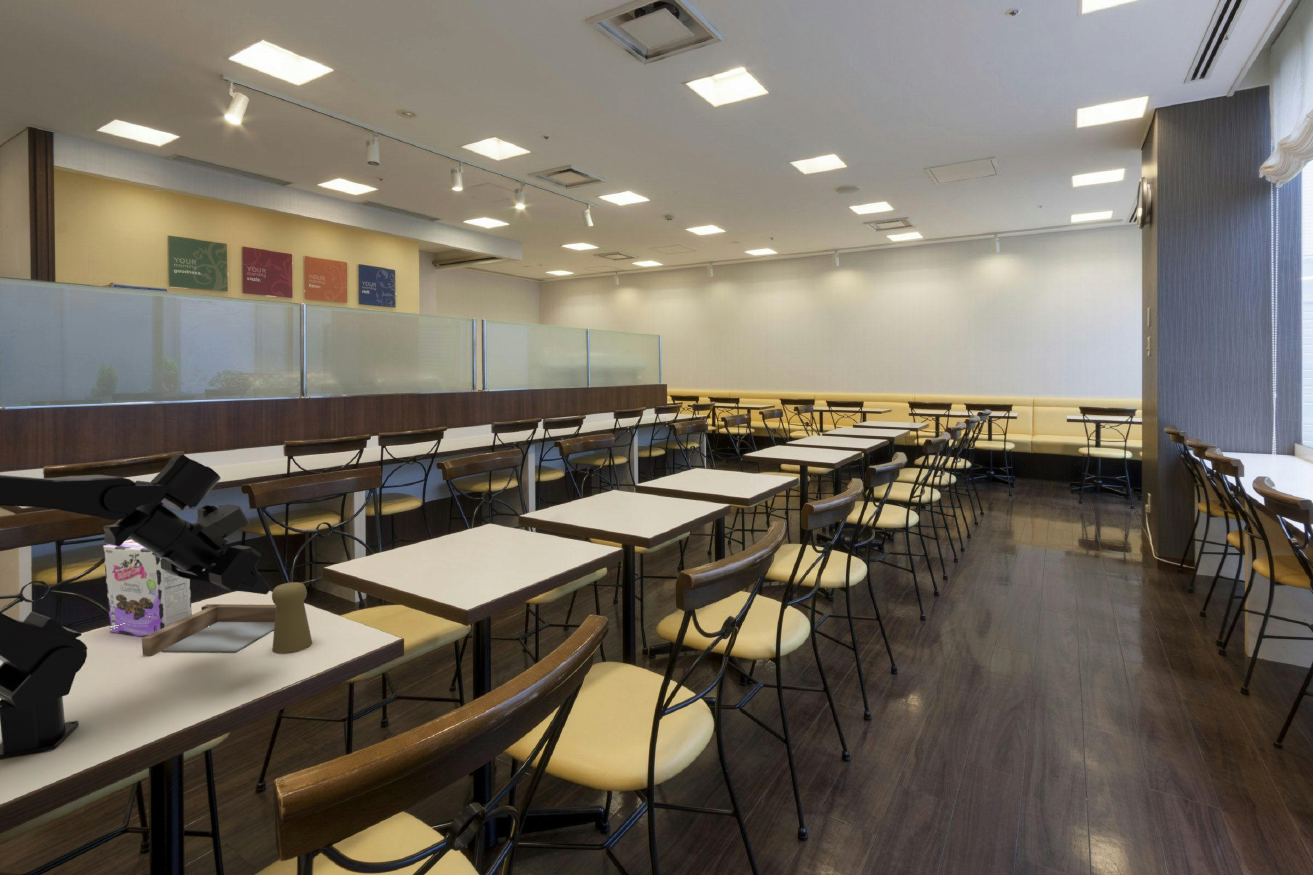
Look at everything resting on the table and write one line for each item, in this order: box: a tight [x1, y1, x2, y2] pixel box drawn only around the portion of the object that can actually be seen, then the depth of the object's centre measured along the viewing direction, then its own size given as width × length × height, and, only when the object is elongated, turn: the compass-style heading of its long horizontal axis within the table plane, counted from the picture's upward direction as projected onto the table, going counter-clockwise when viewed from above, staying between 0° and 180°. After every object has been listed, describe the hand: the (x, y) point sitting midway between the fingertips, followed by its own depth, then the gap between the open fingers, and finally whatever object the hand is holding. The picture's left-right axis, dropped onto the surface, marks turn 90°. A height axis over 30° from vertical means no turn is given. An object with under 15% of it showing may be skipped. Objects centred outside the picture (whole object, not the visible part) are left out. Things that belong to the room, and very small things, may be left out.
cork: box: [271, 581, 313, 655], centre depth 109 cm, size 6×6×11 cm
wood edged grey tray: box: [141, 603, 276, 657], centre depth 114 cm, size 16×19×3 cm
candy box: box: [102, 539, 193, 638], centre depth 117 cm, size 14×6×16 cm, turn 73°
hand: (251, 587), depth 103 cm, fingers open, 9 cm apart
